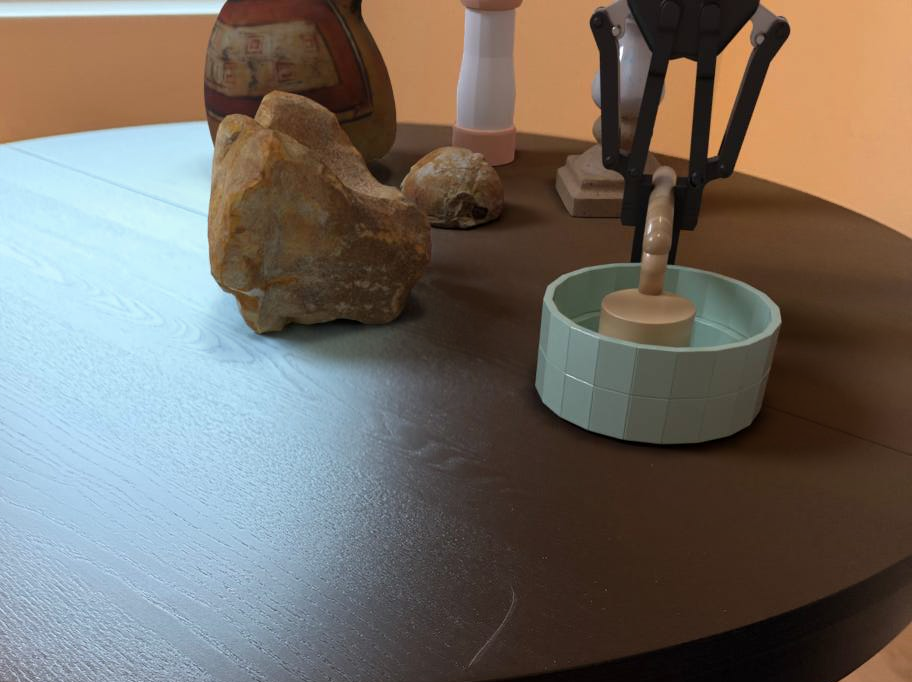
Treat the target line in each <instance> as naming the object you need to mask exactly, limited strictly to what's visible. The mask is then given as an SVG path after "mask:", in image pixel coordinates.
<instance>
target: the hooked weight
mask: <svg viewBox="0 0 912 682" xmlns="http://www.w3.org/2000/svg"><path fill="white" fill-rule="evenodd" d="M676 181H677V174H676V171H675V170H674V169H673V168H672V167H671V166H668V165H662V167H659V168H658V169H657V170H656V171H655V172H654V174H653V180H652V187H651V194H650V197H649V204H648V211H647V218H646V225H645V232H644V239H643V248H642V255H641V262H640V263H642V265H641V272H640V280H639V287H638V289H626V290H620V291H616V292H613V293H611V294H609V295H607V296H606V297H604V299H603V300H602V303H601V312H600V321H599V329H598V333H599V334H601V335H604V336H607V337H612V338H616V339H620V340H625V341H629V342H633V343H638V344H645V345H655V346H665V347H675V348H686V347H690V343H691V337H692V332H693V326H694V320H695V314H696V307H695V305H694V304H693V303H692V302H691V301H690V300H688V299H687V298H685V297H683V296H680V295H678V294H675V293H671V292H667V291H663V286H664V280H665V273H666V267H667V260H668V253H669V251H670V249H671V243H672V230H673V216H674V203H675V188H676Z"/></svg>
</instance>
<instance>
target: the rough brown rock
mask: <svg viewBox="0 0 912 682" xmlns="http://www.w3.org/2000/svg"><path fill="white" fill-rule="evenodd" d="M213 149H214V150H213V155H212V166H211V167H212V168H211V177H210V178H211V179H210V180H211V181H210V193H209V194H210V195H209V203H208V213H207V235H206V236H207V242H208V260H209V266H210V267H209V268H210V275H211V276H212V278H213V280H214V282H216V284H217V285H218V287H220V289H221V290H222V292H224V293H228V294H231V295H233V296H234V298H235V301H236V306H237V309H238V312H239V314H240V315H241V317H242V319H243V321H244V322H245V325H246V326H247V327H248V328H249V329H250V330H252V331H253V332H254V333H256V334H259V335H260V334H264V333H265V334H266V333H271V332H281V331H283V329H284V328H285V327H286V326H287V325H288V324H290V323H292V322H293V323H296V324H300V325H308V326H310V325H314V324H325V323H328V322H333V321H335V320H337V319H345V320H346V319H347V320H352V321H358V322H360V323H362V324H363V325H382V324H389V323H391V322H393V321H395V320H396V319H397V318H398V317H399V316H400V315H401V313H402V311H403V310H404V308H405V305H406V302H407V300H408V297H409V295H410V293H412V292H411V291H412V290H413V288H414V287H415V286H416V284H417V283H418V281H420V279H421V278H422V275H423V273H424V271H425V269H427V267H428V266H429V265H430V263H431V260H432V248H433V243H432V237H431V233H430V232H431V229H432V225H430V222H429V219H428V216H427V215H426V214H425V212H424V211H423V210H422V209H421V208H420V207H419V206H418V204H417V203H415V202H413V200H412V199H411V198H410V197H408V196H407V195H405V194H404V193H403V192H401V189H399V188H397V187H396V186H391V185H385V184H382V183H381V182H379V181H378V180H377V178H375V177H374V175H373V174H372V172H371V171H370V170H369V168H368V166H367V164H365V161H364V159H363V157H362V155H361V153H360V152H359V151H358V150H357V149H356V148H355V147H354V146H353V144H352V142H351V140H350V138H349V136H348V135H347V134H346V133H345V132H344V131H343V129H342V128H341V127H340V126H339V123H338V121H337V118H336V115H335V113H332V112H330V111H329V110H328V109H327V108H325V107H323V106H321V105H320V104H318V103H316V102H314V101H313V100H311V99H309V98H306V97H304V96H300V95H296V94H292V93H287V92H281V91H275V90H274V91H273V92H271V93H269V94H267V95H266V96H264V98H263V100H262V102H261V104H260V107H259V109H258V111H257V114H256V116H255V118H254V119H252V118H250V117H248V116H246V115H241V114H232V115H228V116H226V117H225V118H224V119H223V121H222V122H221V123H220V125H219V128H218V131H217V135H216V142H215V148H213Z"/></svg>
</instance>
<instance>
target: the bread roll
mask: <svg viewBox="0 0 912 682" xmlns="http://www.w3.org/2000/svg"><path fill="white" fill-rule="evenodd" d="M400 191H401V192H403V193H404V194H405V195H407V196H408V197H410V198H411V199H412V200H413V202H415V203H417V204H418V206H419V207H420V208H421V209H422V210H423V211H424V212H425V214H426V215H427V216H428V219H429V222H430V225H431V226H434V227H438V228H443V229H444V228H446V229H455V228H459V229H461V230H465V229H467V228H471V227H475V226H479V225H483V224H486V223H487V222H491V221H494V220H496V219H498V217H499V216H500V215H501V212H502V210H503V207H504V202H505V192H504V187H503V184H502V181H501V178H500V177H499V174H498V173H497V171H496V169H495V168H494V167H493V166H490V165H489V164H488V163H487V162H486V159H485V157H484V156H483V155H482V154H480V153H474V152H472V151H471V150H468V149H465V148H461V147H452V145H449V146H443V147H439V148H436V149H434V150H433V151H431V152H429V153H427V154H425V156H423V157H421V158H420V159H419V160H418V161H417V162H416V163H415V164H414V165H412V166H411V167H410V171H409V173H407V174H406V176H405V177H404V178H403V180H402V182H401V183H400Z"/></svg>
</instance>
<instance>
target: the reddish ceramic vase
mask: <svg viewBox="0 0 912 682" xmlns="http://www.w3.org/2000/svg"><path fill="white" fill-rule="evenodd" d="M362 3H363V0H226V1H225V2H224V4H223V6H222V7H221V8H220V10H219V13H218V16H217V17H216V20H215V21H214V23H213V26H212V30H211V31H210V35H209V39H208V42H207V46H206V53H205V62H204V69H203V100H204V109H205V114H206V121H207V126H208V130H209V135H210V138H211V141H212V145H213V149H215V142H216V135H217V131H218V128H219V125H220V123H221V122H222V121H223V119H224V118H225V117H226V116H228V115H232V114H241V115H246V116H248V117H250V118H252V119H254V118H255V116H256V114H257V111H258V109H259V107H260V104H261V102H262V100H263V98H264V96H266V95H267V94H269V93H271V92H273V91H274V90H275V91H281V92H287V93H292V94H296V95H300V96H304V97H306V98H309V99H311V100H313V101H314V102H316V103H318V104H320V105H321V106H323V107H325V108H327V109H328V110H329V111H330V112H332V113H335V115H336V118H337V121H338V123H339V126H340V127H341V128H342V129H343V131H344V132H345V133H346V134H347V135H348V136H349V138H350V140H351V142H352V144H353V146H354V147H355V148H356V149H357V150H358V151H359V152H360V153H361V155H362V157H363V159H364V161H365V164H366V165H368V164H369V163H372V162H373V161H376V160H379V159H383V158H384V157H385V156H386V155H387V154H389V153H390V151H391V150H392V149H393V146H394V144H395V142H396V138H397V130H398V126H397V125H398V124H397V122H398V121H397V107H396V100H395V96H394V95H395V93H394V90H393V85H392V81H391V77H390V74H389V70H388V66H387V64H386V62H385V60H384V56H383V55H382V52H381V51H380V48H379V46H378V44H377V42H376V40H375V38H374V35H373V34H372V33H371V31H370V29H369V27H368V26H367V23H366V22H365V20H364V17H363V14H362V13H363V11H362Z"/></svg>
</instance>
